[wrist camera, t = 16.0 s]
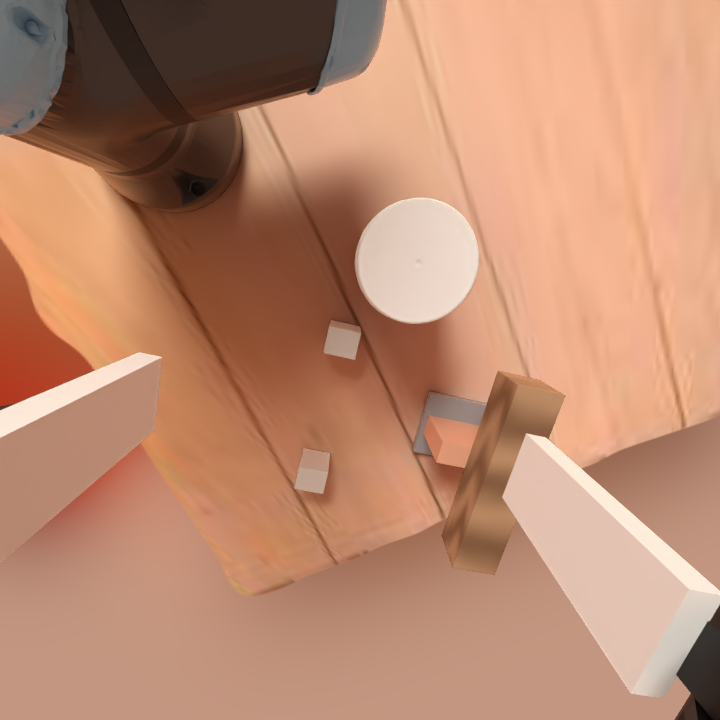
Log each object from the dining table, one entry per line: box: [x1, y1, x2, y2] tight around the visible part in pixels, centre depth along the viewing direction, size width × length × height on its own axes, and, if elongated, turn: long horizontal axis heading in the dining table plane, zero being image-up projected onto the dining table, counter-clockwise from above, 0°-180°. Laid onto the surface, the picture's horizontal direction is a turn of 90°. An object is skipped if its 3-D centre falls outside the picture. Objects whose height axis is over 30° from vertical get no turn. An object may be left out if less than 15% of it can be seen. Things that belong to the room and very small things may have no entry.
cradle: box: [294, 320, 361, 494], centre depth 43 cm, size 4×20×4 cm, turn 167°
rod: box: [442, 371, 565, 575], centre depth 37 cm, size 20×4×4 cm, turn 167°
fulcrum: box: [412, 391, 487, 468], centre depth 43 cm, size 12×8×8 cm, turn 77°
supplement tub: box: [354, 198, 479, 324], centre depth 34 cm, size 10×10×15 cm
